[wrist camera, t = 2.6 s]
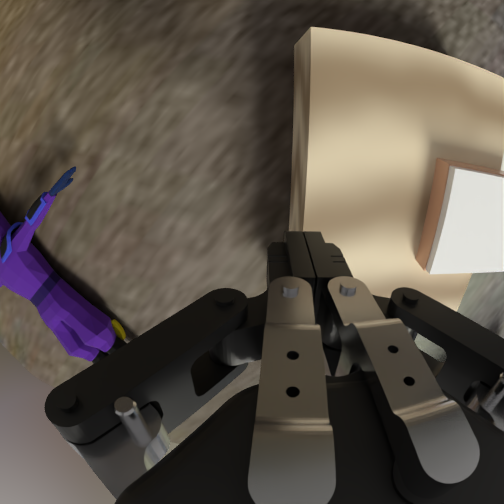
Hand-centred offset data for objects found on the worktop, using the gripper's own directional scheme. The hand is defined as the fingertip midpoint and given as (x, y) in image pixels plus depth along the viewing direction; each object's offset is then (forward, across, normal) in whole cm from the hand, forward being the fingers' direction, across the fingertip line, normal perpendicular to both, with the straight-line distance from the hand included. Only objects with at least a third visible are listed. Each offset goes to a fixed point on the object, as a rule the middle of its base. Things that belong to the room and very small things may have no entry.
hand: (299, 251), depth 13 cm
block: (+12, -8, 0) cm, 14 cm away
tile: (+5, -13, 0) cm, 14 cm away
